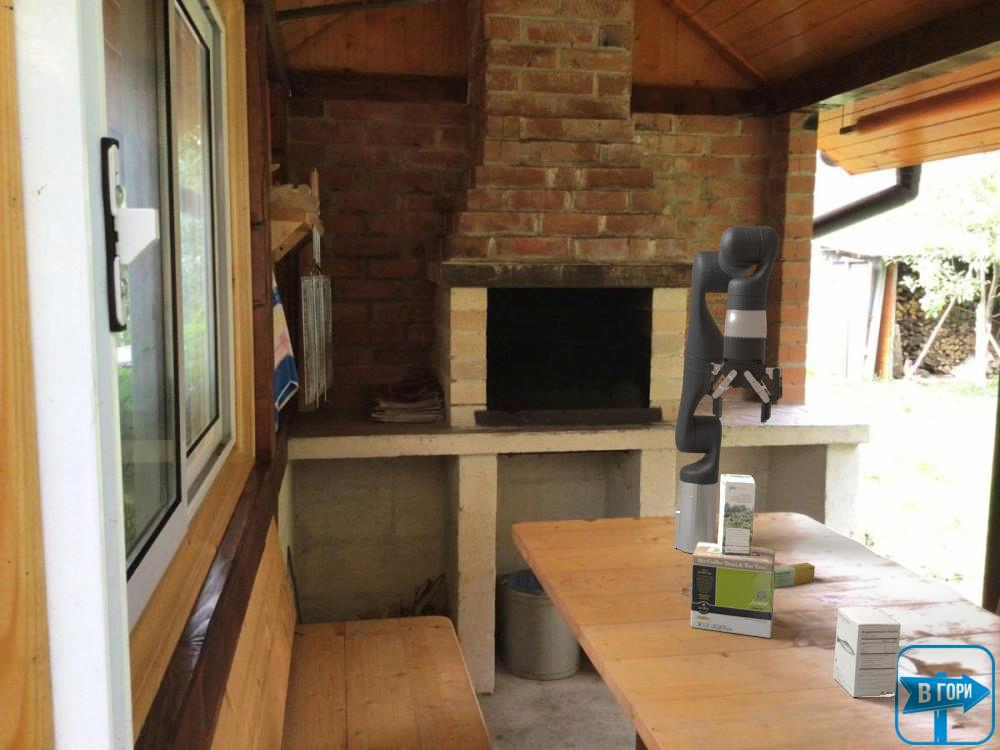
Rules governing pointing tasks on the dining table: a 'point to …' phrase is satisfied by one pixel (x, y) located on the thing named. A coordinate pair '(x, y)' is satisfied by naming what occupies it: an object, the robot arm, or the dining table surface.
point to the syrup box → (736, 514)
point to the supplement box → (866, 651)
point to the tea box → (732, 590)
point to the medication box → (793, 574)
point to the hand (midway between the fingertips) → (740, 419)
